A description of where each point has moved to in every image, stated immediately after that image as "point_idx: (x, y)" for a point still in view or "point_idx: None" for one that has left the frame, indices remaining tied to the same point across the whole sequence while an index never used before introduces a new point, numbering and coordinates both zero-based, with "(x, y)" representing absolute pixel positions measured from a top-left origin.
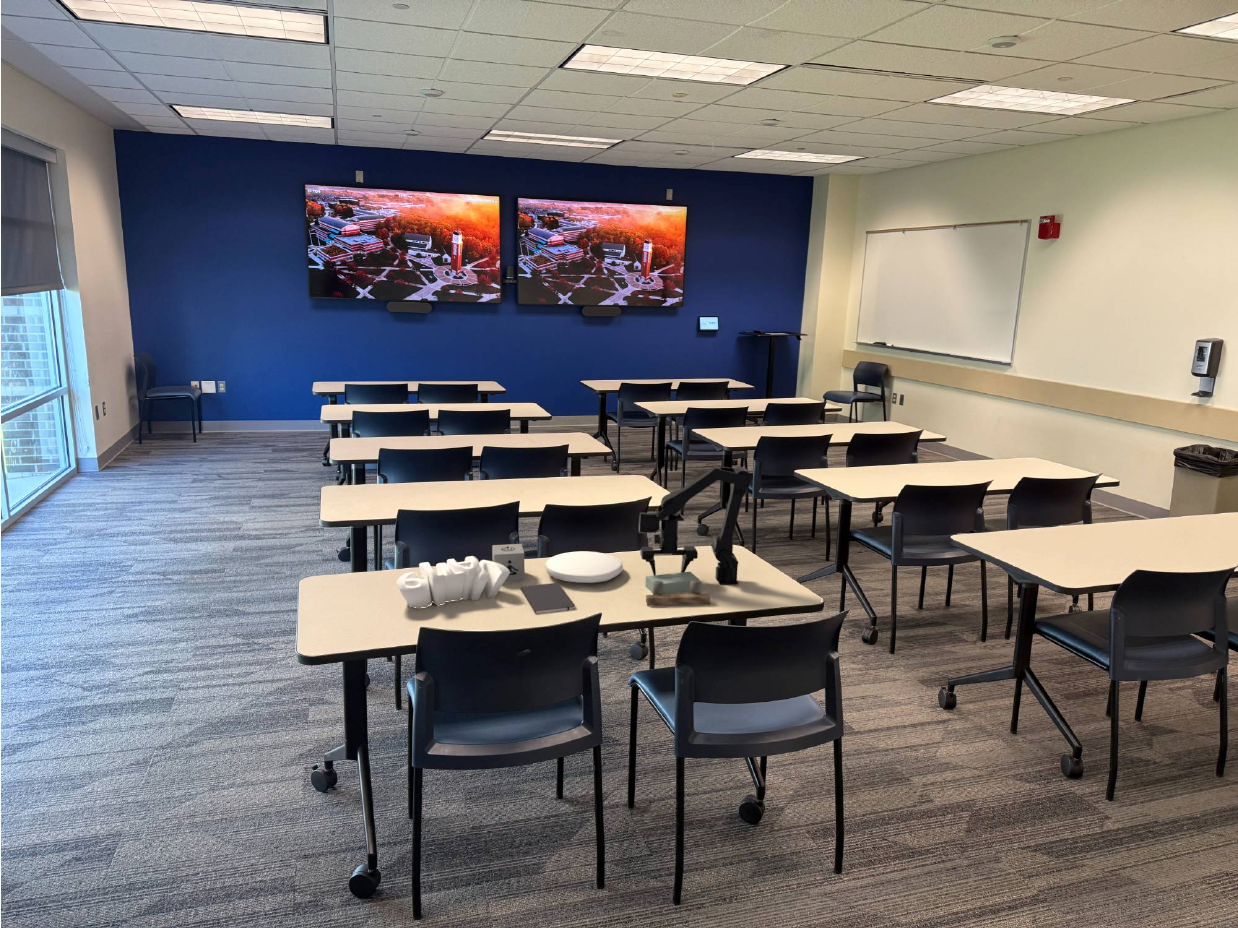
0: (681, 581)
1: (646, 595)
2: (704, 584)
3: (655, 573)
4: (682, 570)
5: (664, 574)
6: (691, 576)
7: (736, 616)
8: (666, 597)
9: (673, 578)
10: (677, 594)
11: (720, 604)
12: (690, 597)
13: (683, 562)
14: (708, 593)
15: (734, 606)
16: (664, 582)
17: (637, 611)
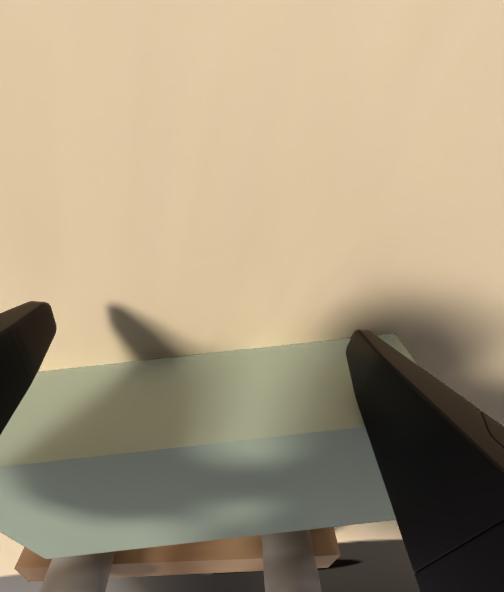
0: (254, 533)
1: (18, 570)
2: (453, 386)
3: (23, 391)
4: (372, 445)
5: (138, 455)
6: (377, 490)
7: (346, 560)
8: (128, 575)
9: (210, 507)
10: (189, 562)
11: (354, 525)
12: (242, 569)
13: (459, 576)
14: (339, 555)
15: (389, 532)
16: (122, 541)
17: (13, 552)
